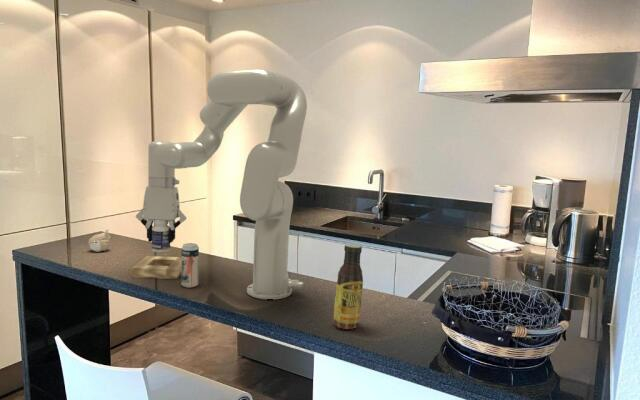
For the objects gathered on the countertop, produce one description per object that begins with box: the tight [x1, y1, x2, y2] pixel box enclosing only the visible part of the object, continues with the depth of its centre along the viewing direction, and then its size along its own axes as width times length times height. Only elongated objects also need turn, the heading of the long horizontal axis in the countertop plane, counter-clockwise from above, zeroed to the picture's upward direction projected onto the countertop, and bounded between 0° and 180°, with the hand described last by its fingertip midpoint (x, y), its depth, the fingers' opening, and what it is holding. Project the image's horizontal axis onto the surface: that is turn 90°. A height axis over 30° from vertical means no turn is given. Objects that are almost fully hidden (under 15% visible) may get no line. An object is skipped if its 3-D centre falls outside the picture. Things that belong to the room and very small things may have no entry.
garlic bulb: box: [87, 228, 111, 253], centre depth 165 cm, size 7×6×8 cm
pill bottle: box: [151, 220, 171, 253], centre depth 144 cm, size 5×5×10 cm
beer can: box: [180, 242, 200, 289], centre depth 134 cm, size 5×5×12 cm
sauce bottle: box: [333, 243, 364, 330], centre depth 112 cm, size 7×6×20 cm
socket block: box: [131, 255, 182, 280], centre depth 146 cm, size 13×13×3 cm
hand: (161, 240), depth 145 cm, fingers closed on pill bottle, 5 cm apart
